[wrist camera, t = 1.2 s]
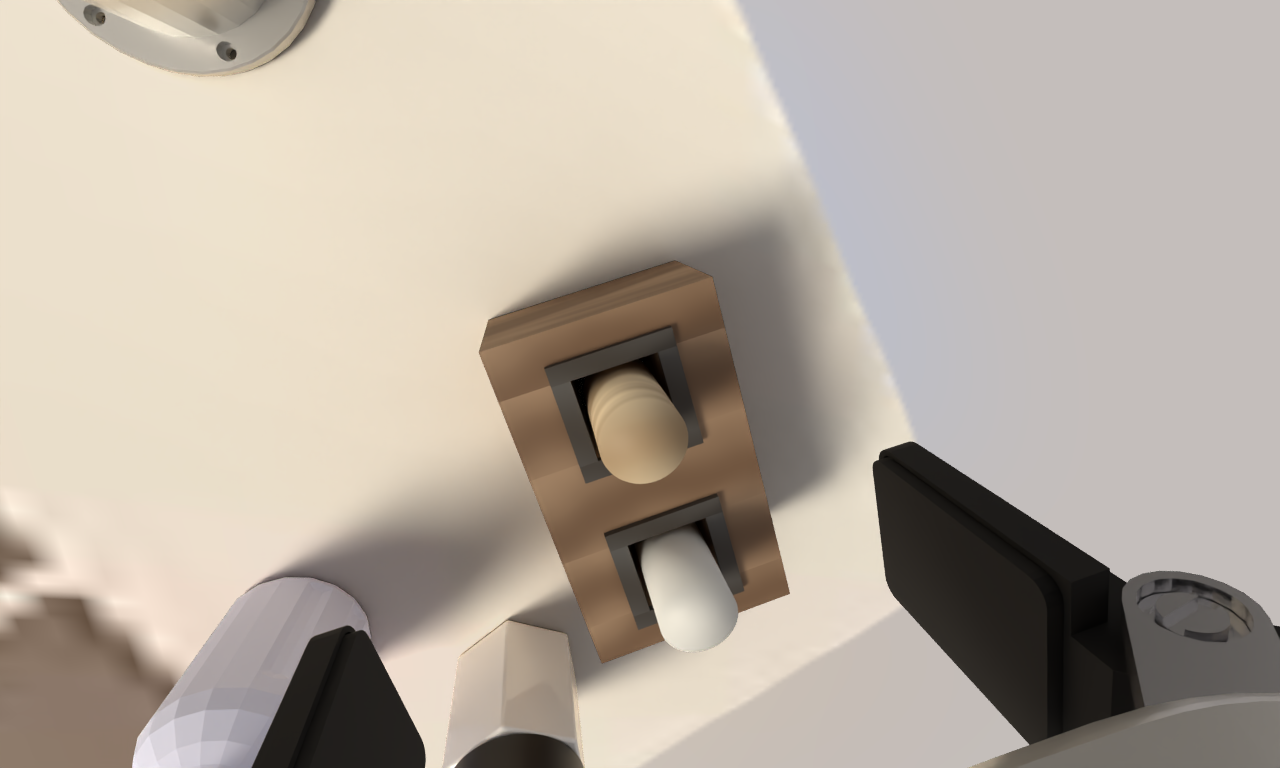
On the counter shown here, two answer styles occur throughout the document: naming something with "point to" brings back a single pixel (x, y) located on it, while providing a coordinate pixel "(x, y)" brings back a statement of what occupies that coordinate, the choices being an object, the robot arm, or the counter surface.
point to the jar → (515, 703)
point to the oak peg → (634, 423)
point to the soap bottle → (243, 675)
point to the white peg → (687, 589)
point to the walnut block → (570, 460)
